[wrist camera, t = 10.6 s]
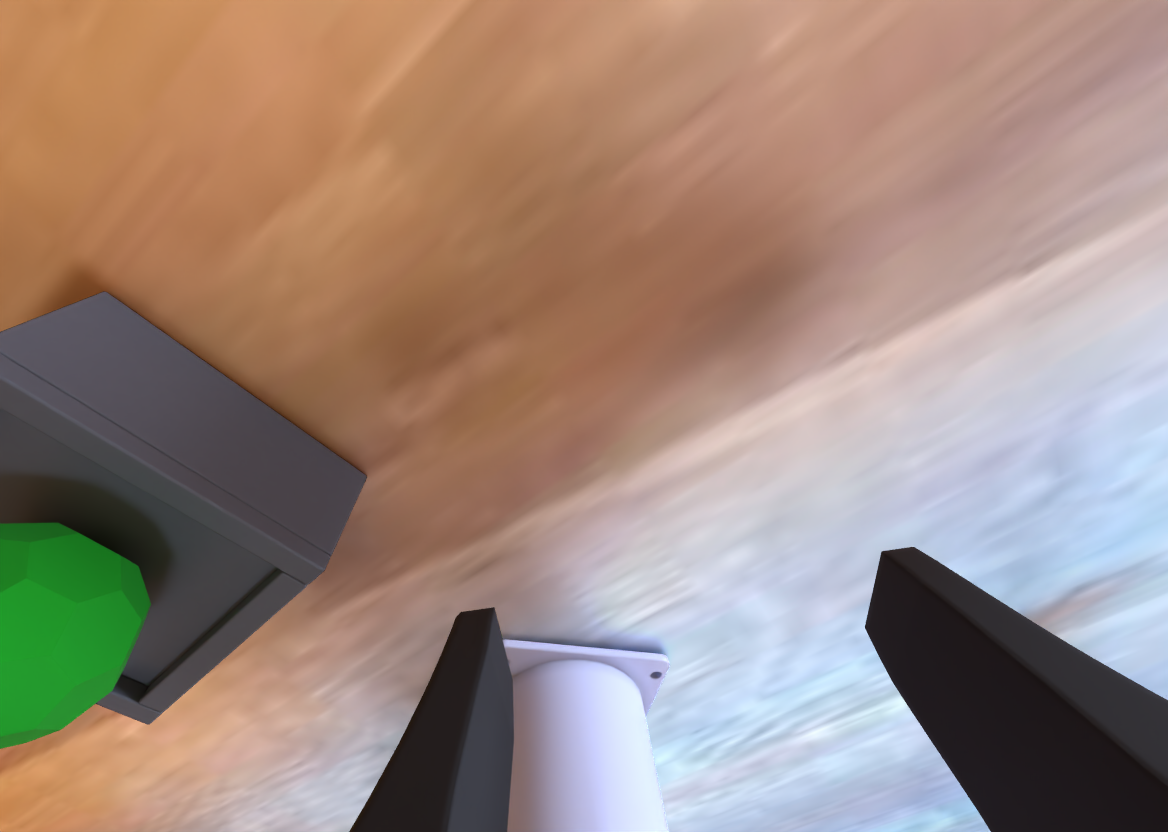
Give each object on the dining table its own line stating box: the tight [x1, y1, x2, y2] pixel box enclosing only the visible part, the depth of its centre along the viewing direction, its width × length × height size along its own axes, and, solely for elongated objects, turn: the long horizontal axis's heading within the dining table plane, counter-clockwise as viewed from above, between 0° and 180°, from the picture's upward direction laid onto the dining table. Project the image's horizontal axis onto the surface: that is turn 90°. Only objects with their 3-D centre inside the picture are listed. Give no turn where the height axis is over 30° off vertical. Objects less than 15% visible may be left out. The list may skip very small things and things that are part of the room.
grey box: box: [0, 292, 367, 724], centre depth 16 cm, size 9×9×5 cm
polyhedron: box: [0, 523, 151, 749], centre depth 13 cm, size 5×5×5 cm
